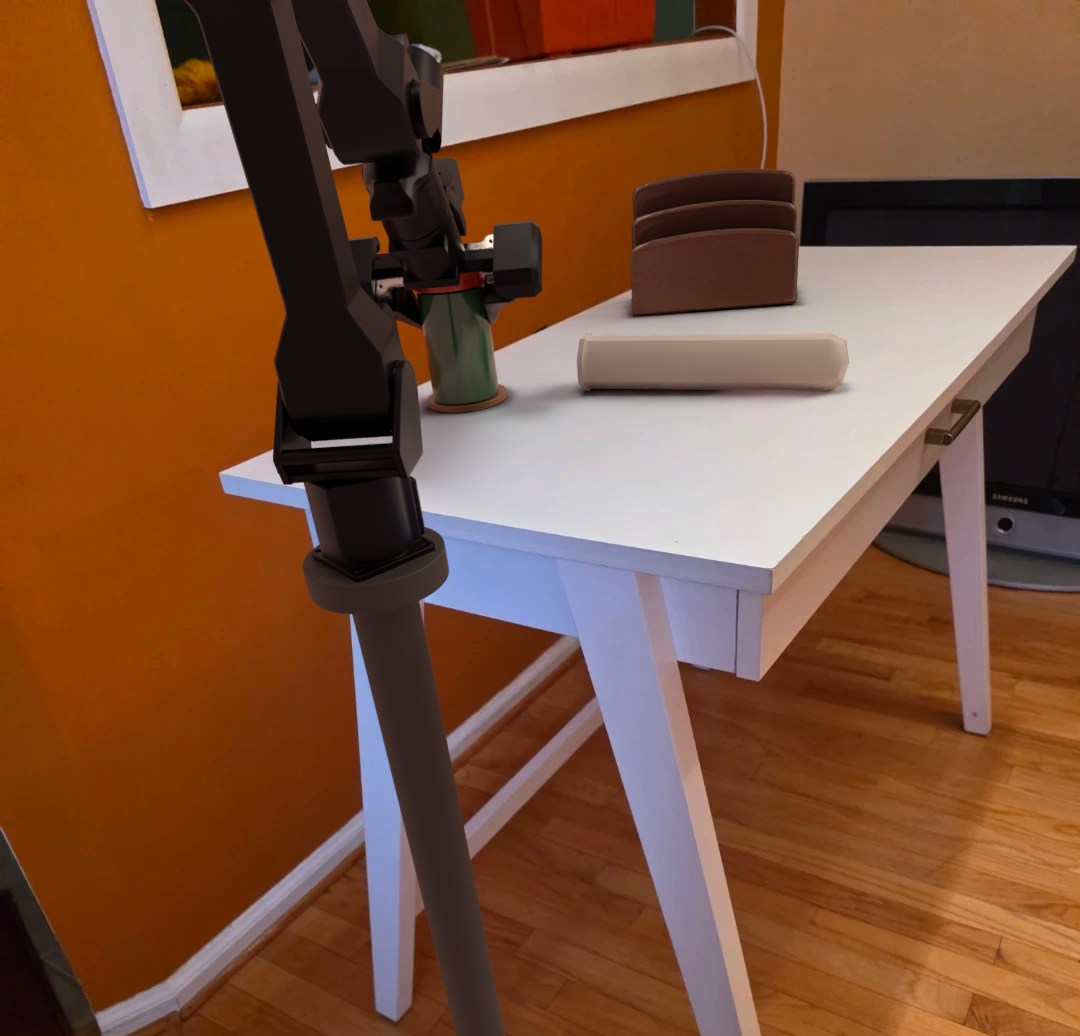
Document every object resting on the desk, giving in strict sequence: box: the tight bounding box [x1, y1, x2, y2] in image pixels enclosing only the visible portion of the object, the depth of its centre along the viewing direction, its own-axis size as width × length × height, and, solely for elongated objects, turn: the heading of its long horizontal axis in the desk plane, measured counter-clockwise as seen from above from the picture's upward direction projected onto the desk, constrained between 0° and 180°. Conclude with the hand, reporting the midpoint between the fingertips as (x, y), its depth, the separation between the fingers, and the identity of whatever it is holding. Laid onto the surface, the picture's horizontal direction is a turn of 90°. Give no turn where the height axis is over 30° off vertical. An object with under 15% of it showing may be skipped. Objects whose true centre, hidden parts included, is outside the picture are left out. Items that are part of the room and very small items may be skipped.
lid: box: [413, 272, 484, 293], centre depth 89 cm, size 7×7×2 cm
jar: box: [416, 284, 499, 404], centre depth 92 cm, size 7×7×11 cm
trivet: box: [427, 383, 508, 414], centre depth 96 cm, size 8×8×1 cm
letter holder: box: [629, 168, 800, 317], centre depth 116 cm, size 10×20×14 cm, turn 82°
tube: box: [576, 332, 850, 392], centre depth 89 cm, size 5×5×25 cm
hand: (459, 322), depth 93 cm, fingers closed on jar, 7 cm apart
